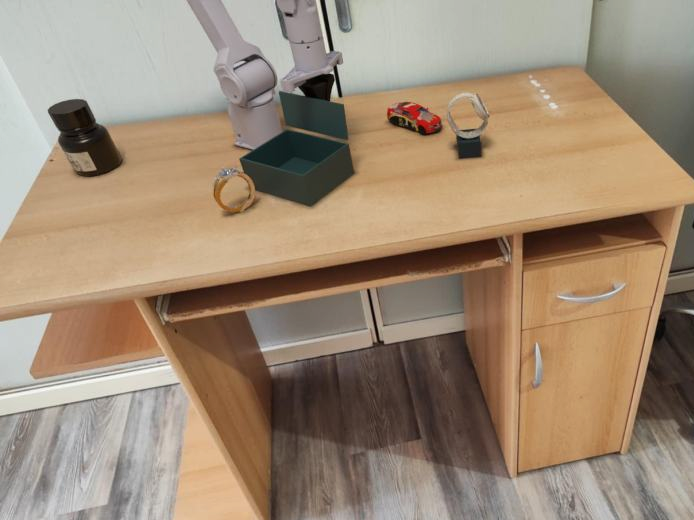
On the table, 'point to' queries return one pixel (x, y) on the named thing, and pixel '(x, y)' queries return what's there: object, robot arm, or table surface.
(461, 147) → the watch
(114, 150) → the ink bottle
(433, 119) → the race car
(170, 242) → the table surface
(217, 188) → the ring
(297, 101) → the flap
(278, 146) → the carton
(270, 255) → the table surface
